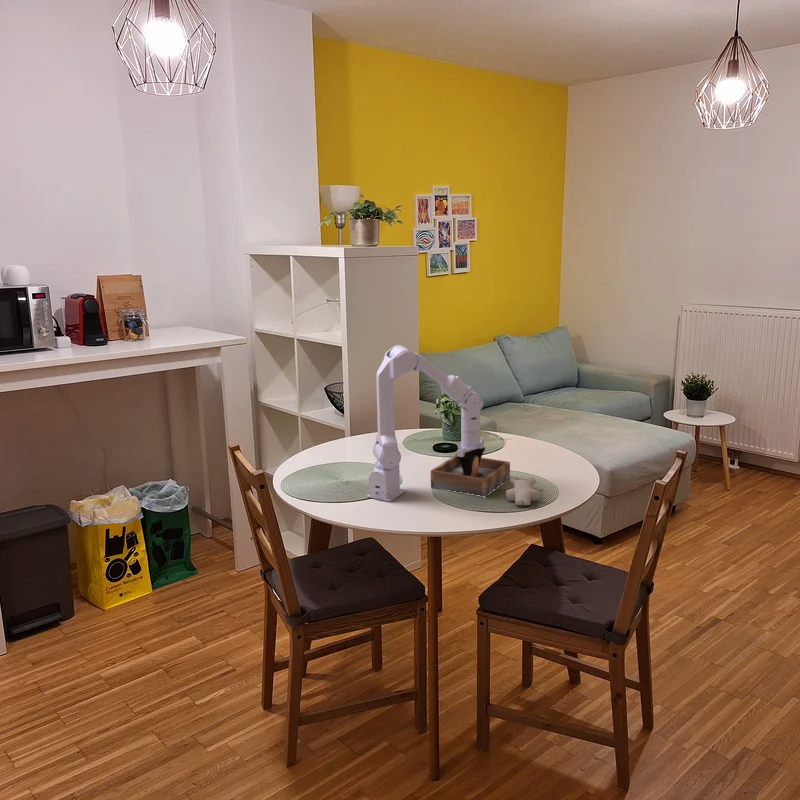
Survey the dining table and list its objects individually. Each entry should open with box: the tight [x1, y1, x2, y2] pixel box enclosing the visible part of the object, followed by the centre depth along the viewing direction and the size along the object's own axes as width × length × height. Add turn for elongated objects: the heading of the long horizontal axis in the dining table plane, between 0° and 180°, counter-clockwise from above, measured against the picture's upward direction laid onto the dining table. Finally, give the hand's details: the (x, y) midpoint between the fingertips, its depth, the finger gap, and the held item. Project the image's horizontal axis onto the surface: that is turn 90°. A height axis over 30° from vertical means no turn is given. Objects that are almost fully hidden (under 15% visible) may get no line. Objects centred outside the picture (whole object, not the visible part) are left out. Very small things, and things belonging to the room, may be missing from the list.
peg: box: [471, 456, 478, 478], centre depth 222 cm, size 4×4×7 cm
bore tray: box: [430, 454, 511, 498], centre depth 223 cm, size 18×18×6 cm
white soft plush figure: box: [505, 476, 541, 506], centre depth 210 cm, size 10×5×15 cm
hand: (470, 472), depth 222 cm, fingers closed on peg, 4 cm apart
